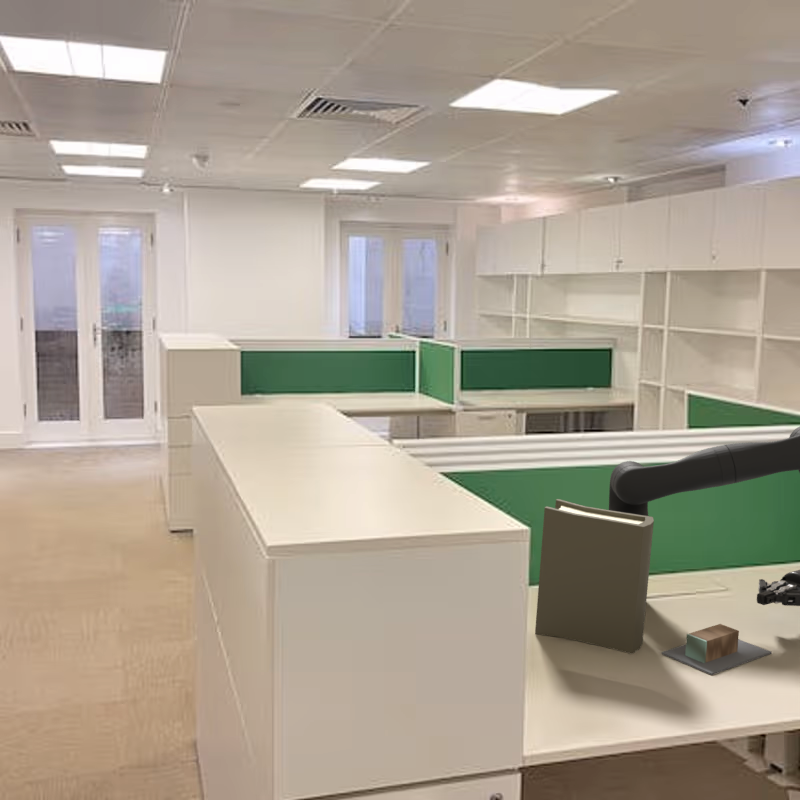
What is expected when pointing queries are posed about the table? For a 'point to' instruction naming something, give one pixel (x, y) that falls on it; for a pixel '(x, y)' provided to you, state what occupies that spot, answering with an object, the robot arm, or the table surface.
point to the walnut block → (711, 643)
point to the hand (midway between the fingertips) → (760, 599)
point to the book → (594, 575)
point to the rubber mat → (742, 656)
